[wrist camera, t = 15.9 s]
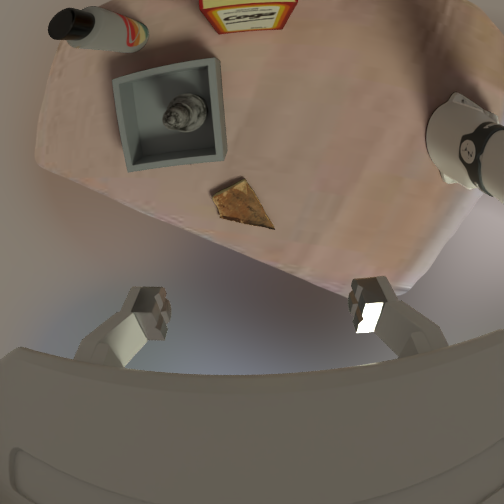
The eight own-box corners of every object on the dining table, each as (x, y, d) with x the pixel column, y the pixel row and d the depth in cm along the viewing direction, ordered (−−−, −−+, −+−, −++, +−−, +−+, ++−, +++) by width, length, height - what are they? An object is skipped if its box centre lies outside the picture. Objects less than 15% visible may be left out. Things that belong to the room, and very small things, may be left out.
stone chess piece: (206, 88, 35) (189, 90, 25) (213, 124, 38) (199, 139, 28) (169, 97, 35) (140, 104, 26) (177, 131, 39) (151, 150, 29)
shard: (274, 225, 50) (275, 230, 49) (238, 241, 52) (238, 247, 51) (246, 176, 45) (246, 179, 43) (208, 195, 47) (206, 200, 46)
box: (220, 61, 33) (214, 57, 28) (227, 150, 42) (223, 160, 37) (128, 78, 34) (112, 79, 29) (141, 161, 42) (127, 172, 37)
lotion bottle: (154, 23, 28) (88, -5, 12) (144, 54, 32) (72, 45, 15) (123, 22, 27) (48, 3, 11) (114, 52, 31) (35, 50, 14)
